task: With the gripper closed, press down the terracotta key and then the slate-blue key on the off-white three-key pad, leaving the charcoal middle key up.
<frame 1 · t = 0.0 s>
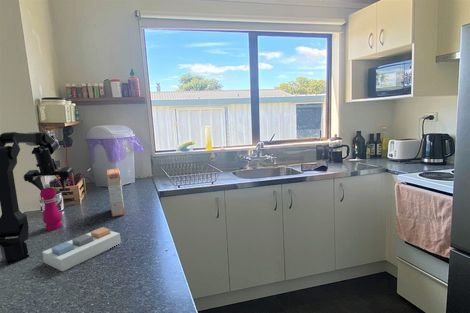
hand: (54, 190, 138), 15 cm above the countertop, tool pointing down, fingers open, 9 cm apart
key slate: (63, 250, 102), point 4 cm above the countertop, slide at 0.0 cm
keypad: (84, 252, 108), on the countertop
cracker box: (118, 212, 150), on the countertop
key charcoal: (82, 241, 107), point 4 cm above the countertop, slide at 0.0 cm
key terracotta: (100, 234, 113), point 4 cm above the countertop, slide at 0.0 cm
pepper mill: (54, 227, 134), on the countertop
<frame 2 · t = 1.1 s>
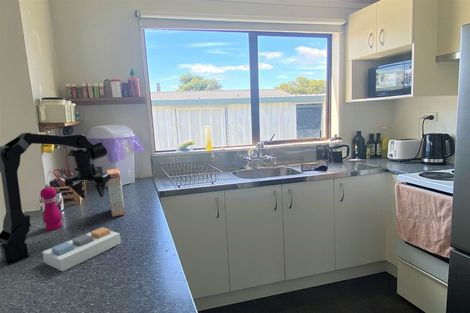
hand: (92, 197, 131), 13 cm above the countertop, tool pointing down, fingers open, 9 cm apart
nothing on the countertop moved.
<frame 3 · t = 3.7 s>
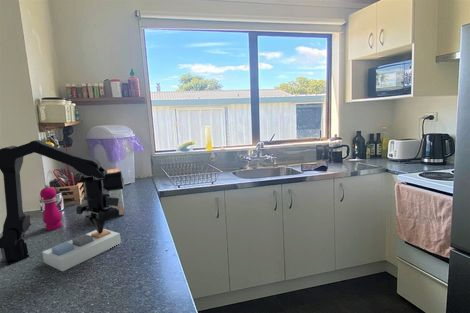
hand: (100, 232, 113), 5 cm above the countertop, tool pointing down, fingers closed, pressing on key terracotta
key terracotta: (101, 236, 113), point 3 cm above the countertop, slide at 0.9 cm, touching gripper
everything else where it was.
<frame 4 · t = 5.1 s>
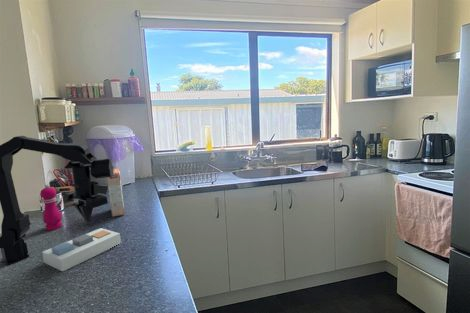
hand: (88, 221, 109), 11 cm above the countertop, tool pointing down, fingers closed
key terracotta: (101, 237, 113), point 3 cm above the countertop, slide at 1.3 cm
everything else where it was.
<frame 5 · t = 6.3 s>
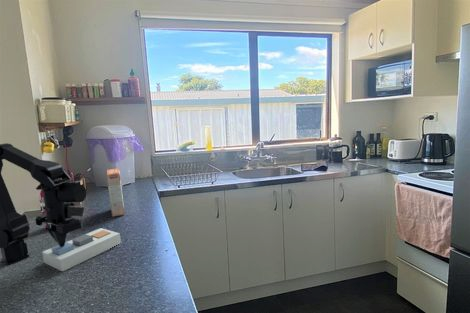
hand: (62, 246, 101), 6 cm above the countertop, tool pointing down, fingers closed, pressing on key slate
key slate: (63, 250, 102), point 4 cm above the countertop, slide at 0.0 cm, touching gripper
everything else where it was.
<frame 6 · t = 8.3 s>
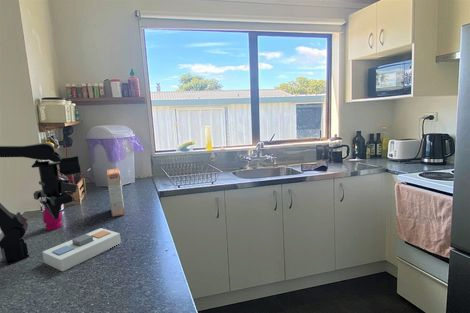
hand: (56, 218, 111), 12 cm above the countertop, tool pointing down, fingers closed
key slate: (63, 253, 102), point 3 cm above the countertop, slide at 1.3 cm
everything else where it was.
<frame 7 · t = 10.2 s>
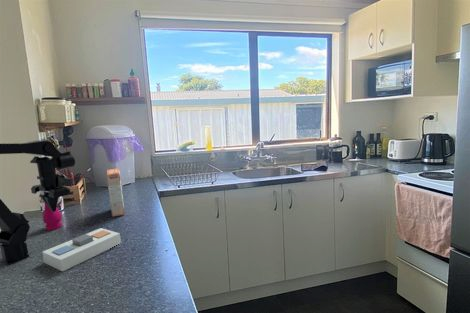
hand: (53, 211, 119), 12 cm above the countertop, tool pointing down, fingers closed
nothing on the countertop moved.
at the end: key terracotta slide at 1.3 cm; key slate slide at 1.3 cm; key charcoal slide at 0.0 cm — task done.
